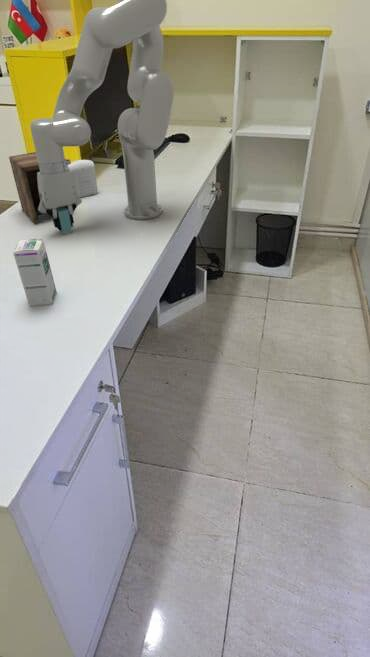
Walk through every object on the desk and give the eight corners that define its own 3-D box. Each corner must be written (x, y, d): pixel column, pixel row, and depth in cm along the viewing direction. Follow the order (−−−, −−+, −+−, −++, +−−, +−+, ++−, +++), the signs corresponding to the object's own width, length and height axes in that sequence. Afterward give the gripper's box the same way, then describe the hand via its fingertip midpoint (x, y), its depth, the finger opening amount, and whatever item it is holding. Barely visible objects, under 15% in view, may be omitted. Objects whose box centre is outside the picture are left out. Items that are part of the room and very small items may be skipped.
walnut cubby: (72, 215, 149) (61, 160, 138) (34, 224, 144) (21, 167, 133) (58, 202, 158) (47, 150, 148) (22, 210, 153) (8, 156, 142)
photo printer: (95, 190, 168) (90, 156, 160) (100, 193, 165) (95, 159, 157) (69, 196, 163) (62, 161, 156) (73, 200, 160) (67, 164, 153)
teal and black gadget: (82, 228, 139) (79, 207, 135) (52, 236, 135) (47, 214, 131) (59, 207, 153) (55, 187, 149) (31, 214, 149) (26, 193, 145)
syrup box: (53, 304, 106) (39, 249, 97) (28, 306, 106) (12, 251, 97) (56, 291, 111) (44, 238, 102) (32, 293, 110) (18, 239, 102)
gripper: (75, 158, 133) (85, 217, 144) (20, 168, 126) (34, 229, 137) (84, 164, 127) (94, 225, 138) (27, 175, 121) (42, 238, 132)
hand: (64, 226), depth 138 cm, fingers closed on teal and black gadget, 3 cm apart
